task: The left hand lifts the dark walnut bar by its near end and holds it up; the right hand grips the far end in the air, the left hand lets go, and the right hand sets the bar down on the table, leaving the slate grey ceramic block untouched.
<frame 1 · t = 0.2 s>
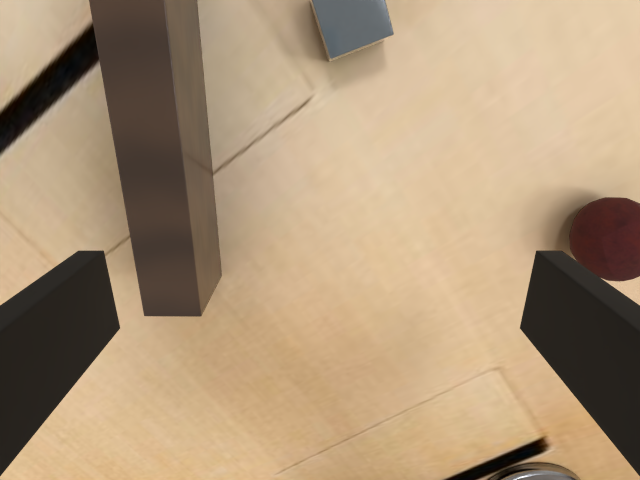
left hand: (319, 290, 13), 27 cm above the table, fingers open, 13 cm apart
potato: (590, 224, 41), on the table
grey block: (347, 20, 34), on the table
walnut bar: (184, 151, 38), on the table
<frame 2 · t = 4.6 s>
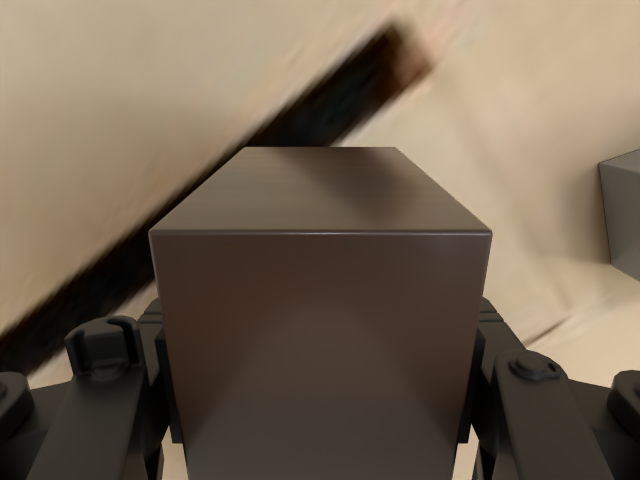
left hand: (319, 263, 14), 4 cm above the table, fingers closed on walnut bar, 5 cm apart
walnut bar: (319, 444, 18), point 3 cm above the table, touching left hand
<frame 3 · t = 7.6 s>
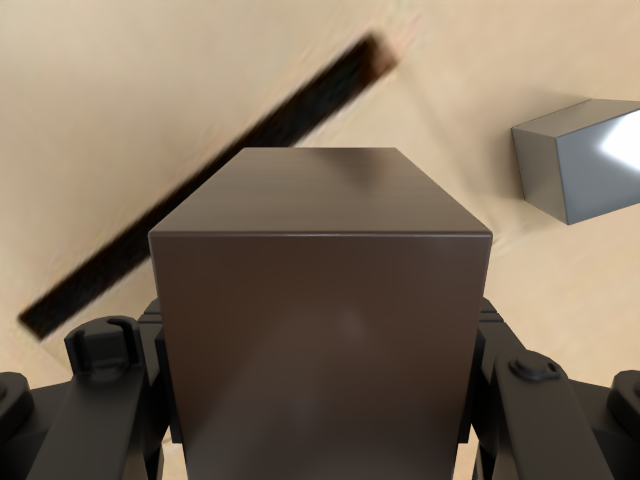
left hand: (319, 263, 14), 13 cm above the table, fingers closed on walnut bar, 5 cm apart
grey block: (557, 152, 26), on the table
walnut bar: (320, 445, 18), point 12 cm above the table, touching left hand
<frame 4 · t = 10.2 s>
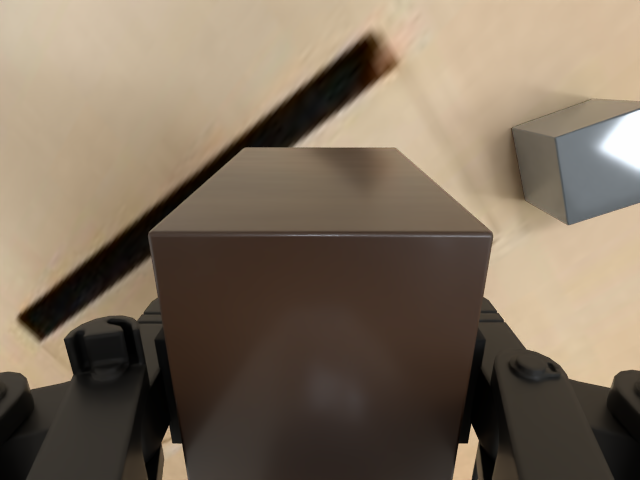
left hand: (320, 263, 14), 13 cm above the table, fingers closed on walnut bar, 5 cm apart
grey block: (557, 151, 26), on the table
walnut bar: (319, 444, 18), point 12 cm above the table, touching left hand, right hand
when the left hand's fingers open (13 cm above the table, at t = 11.0 s): walnut bar stays where it is, held by the right hand.
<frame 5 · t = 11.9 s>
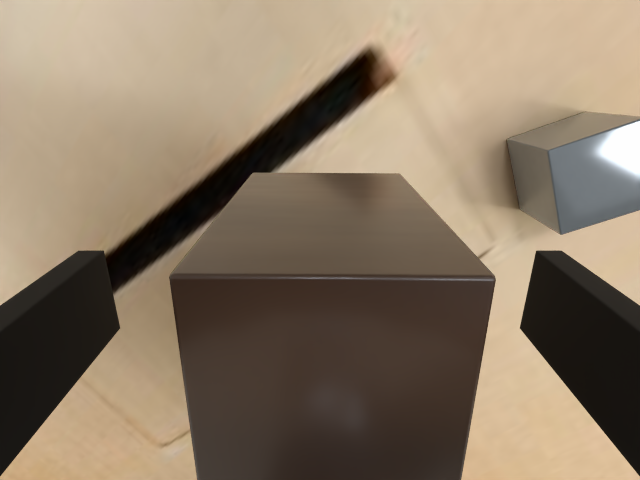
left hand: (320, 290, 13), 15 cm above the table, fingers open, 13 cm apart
grey block: (551, 162, 26), on the table
walnut bar: (323, 461, 18), point 13 cm above the table, touching right hand
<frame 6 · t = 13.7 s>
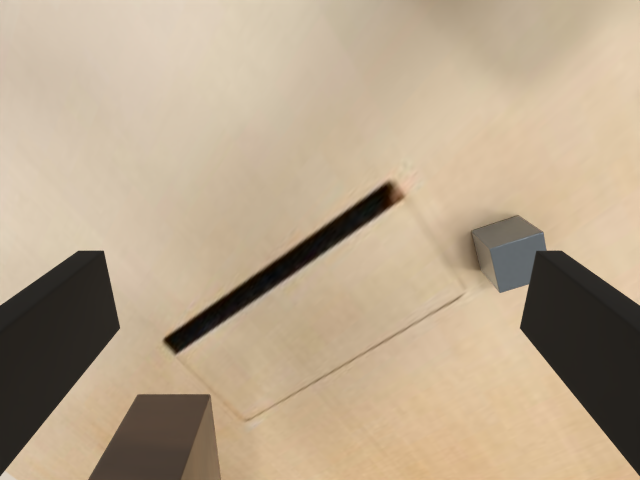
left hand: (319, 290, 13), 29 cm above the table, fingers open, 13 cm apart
grey block: (499, 243, 43), on the table
when the right hand's fingers open (1 cm above the table, at t = 17.1 s): walnut bar stays where it is, on the table.
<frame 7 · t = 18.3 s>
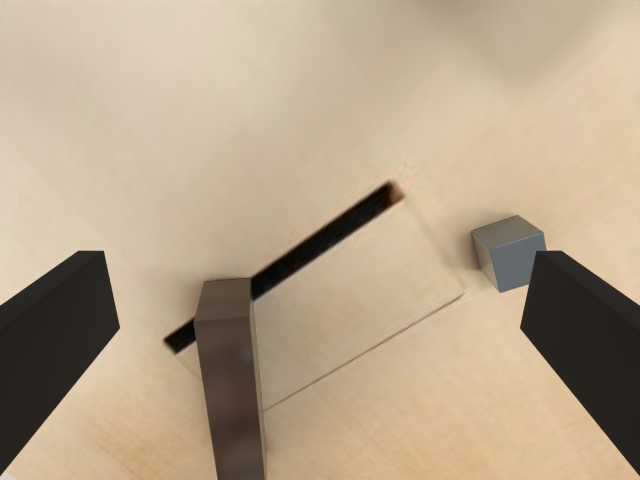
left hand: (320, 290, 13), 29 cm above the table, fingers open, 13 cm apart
grey block: (499, 243, 43), on the table
walnut bar: (238, 376, 49), on the table, tilted 8°
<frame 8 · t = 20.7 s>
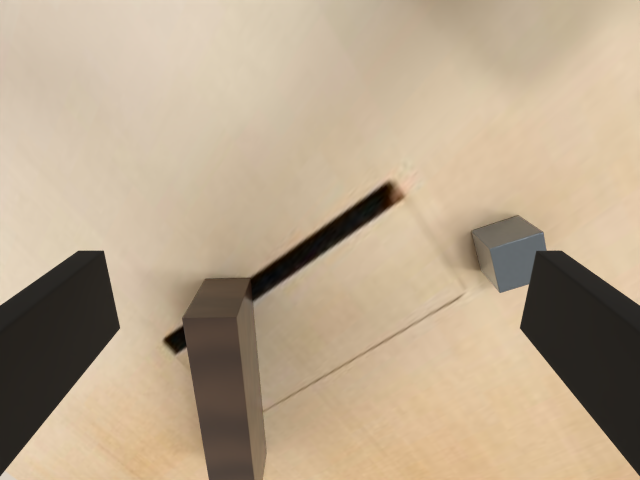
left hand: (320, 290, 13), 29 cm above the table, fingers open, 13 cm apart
grey block: (499, 243, 43), on the table
walnut bar: (238, 374, 49), on the table
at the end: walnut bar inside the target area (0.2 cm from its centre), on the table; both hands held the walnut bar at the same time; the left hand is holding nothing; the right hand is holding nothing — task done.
